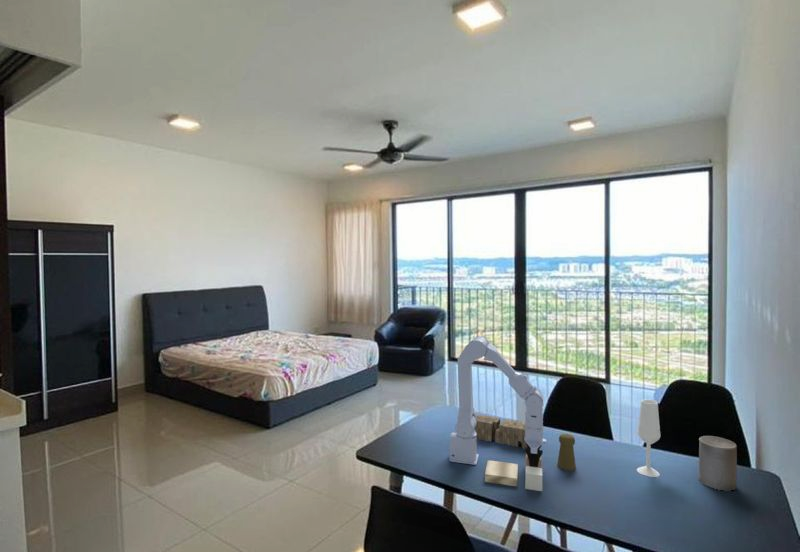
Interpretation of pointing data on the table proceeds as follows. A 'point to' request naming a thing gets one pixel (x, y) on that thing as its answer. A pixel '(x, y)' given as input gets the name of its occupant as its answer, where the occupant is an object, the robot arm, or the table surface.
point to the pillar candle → (718, 463)
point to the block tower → (500, 430)
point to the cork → (566, 452)
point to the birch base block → (501, 473)
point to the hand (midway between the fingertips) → (533, 465)
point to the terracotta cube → (538, 463)
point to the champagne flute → (648, 432)
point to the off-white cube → (533, 478)
